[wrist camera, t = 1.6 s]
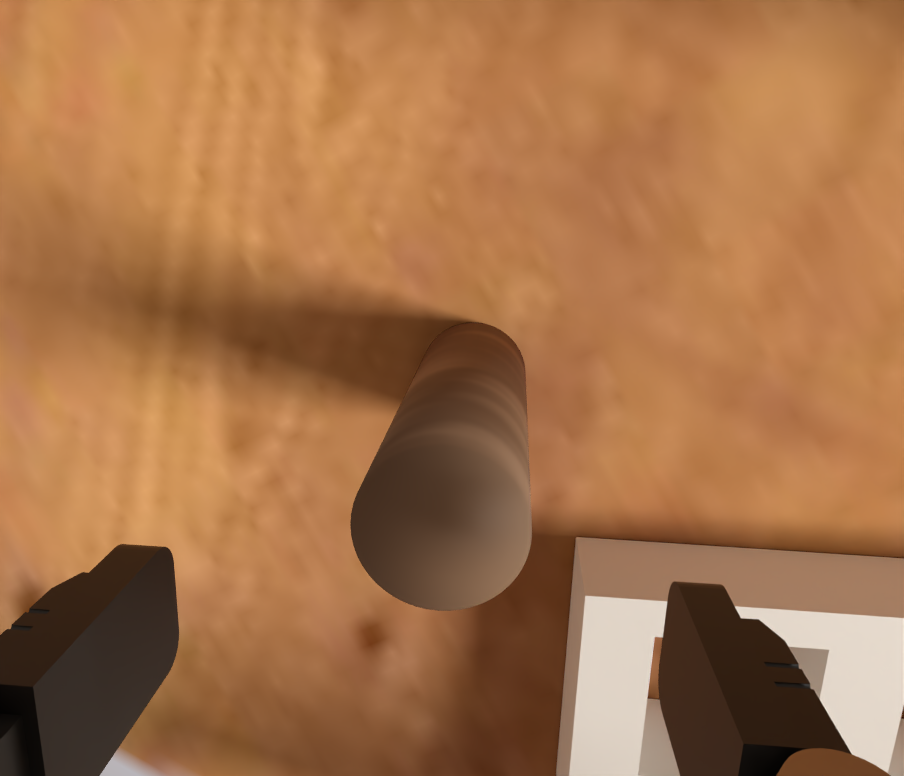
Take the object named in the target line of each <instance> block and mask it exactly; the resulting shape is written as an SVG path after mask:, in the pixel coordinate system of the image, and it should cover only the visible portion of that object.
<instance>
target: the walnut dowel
mask: <svg viewBox="0 0 904 776" xmlns="http://www.w3.org/2000/svg"><path fill="white" fill-rule="evenodd" d="M351 536H352V540H353V545H354V548H355V551H356V554H357V556H358V558H359V560H360V562H361V564H362V566H363V567H364V569H365V570H366V571H367V573H368V574H369V576H370V577H371V578H372V579H373V580H374V581H375V582H376V583H377V584H378V585H379V586H380V587H381V588H383V589H384V590H385V591H386V592H388V593H389V594H391V595H392V596H394V597H396V598H397V599H399V600H401V601H403V602H405V603H408V604H411V605H413V606H416V607H420V608H424V609H430V610H438V611H452V610H461V609H466V608H470V607H474V606H477V605H479V604H482V603H484V602H486V601H488V600H490V599H492V598H494V597H495V596H497V595H498V594H500V593H501V592H502V591H504V590H505V589H506V588H507V587H508V586H509V585H510V584H511V583H512V582H513V581H514V580H515V578H516V577H517V576H518V574H519V573H520V571H521V570H522V568H523V566H524V564H525V562H526V560H527V557H528V554H529V550H530V546H531V539H532V519H531V495H530V472H529V448H528V425H527V401H526V377H525V365H524V361H523V357H522V355H521V352H520V350H519V349H518V347H517V345H516V344H515V343H514V341H513V340H512V339H511V338H510V337H509V336H508V335H507V334H505V333H504V332H502V331H501V330H499V329H497V328H495V327H493V326H490V325H487V324H483V323H464V324H459V325H456V326H453V327H451V328H449V329H447V330H445V331H444V332H442V333H441V334H440V335H439V336H438V337H437V338H436V339H435V340H434V341H433V342H432V343H431V345H430V346H429V348H428V350H427V352H426V354H425V356H424V358H423V360H422V362H421V364H420V366H419V368H418V370H417V372H416V374H415V376H414V378H413V380H412V382H411V384H410V386H409V389H408V391H407V393H406V395H405V397H404V399H403V401H402V403H401V405H400V407H399V409H398V411H397V413H396V415H395V417H394V419H393V421H392V423H391V425H390V427H389V429H388V431H387V433H386V436H385V438H384V440H383V442H382V444H381V446H380V448H379V450H378V452H377V454H376V456H375V458H374V460H373V462H372V464H371V466H370V468H369V470H368V472H367V474H366V476H365V478H364V481H363V483H362V485H361V487H360V489H359V491H358V493H357V495H356V498H355V501H354V503H353V508H352V513H351Z"/></svg>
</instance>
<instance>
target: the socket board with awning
mask: <svg viewBox="0 0 904 776" xmlns="http://www.w3.org/2000/svg"><path fill="white" fill-rule="evenodd" d="M674 581H677V582H693V583H708V584H721V585H723V586H724V587H725V589H726V591H727V593H728V594H729V596H730V598H731V600H732V602H733V604H734V606H735V608H736V610H737V612H738V614H739V616H740V617H741V618H746V619H759V620H760V621H761V622H763V623H764V624H765V625H766V626H768V627H769V628H770V629H771V630H772V631H774V632H775V633H776V634H777V635H779V636H780V637H781V638H782V639H783V640H785V642H786V643H787V645H788V647H789V649H790V650H791V652H792V654H793V655H794V657H795V659H796V660H797V662H798V664H799V669H802V671H803V672H804V674H805V676H806V677H807V679H808V681H809V682H810V687H811V689H814V691H815V693H816V694H817V696H818V698H819V699H820V701H821V703H822V704H823V706H824V708H825V710H826V711H827V713H828V715H829V716H830V718H831V720H832V721H833V723H834V725H835V726H836V728H837V730H838V732H839V733H840V735H841V737H842V738H843V740H844V742H845V743H846V745H847V747H848V748H849V750H850V752H851V754H852V755H855V756H857V757H859V758H862V759H864V760H866V761H868V762H870V763H872V764H874V765H876V766H877V767H879V768H881V769H882V770H884V771H885V772H887V773H888V774H889V775H891V776H904V719H901V715H902V710H903V706H904V558H890V557H875V556H860V555H844V554H829V553H814V552H798V551H783V550H768V549H752V548H737V547H722V546H706V545H691V544H676V543H660V542H645V541H630V540H614V539H599V538H584V537H576V543H575V555H574V567H573V578H572V590H571V602H570V614H569V626H568V638H567V650H566V661H565V673H564V685H563V697H562V709H561V721H560V733H559V745H558V756H557V768H556V776H680V773H679V770H678V766H677V763H676V759H675V756H674V752H673V749H672V745H671V742H670V738H669V735H668V731H667V728H666V724H665V721H664V717H663V714H662V710H661V705H660V700H659V699H647V697H648V689H649V681H650V672H651V664H652V656H653V648H654V639H655V637H663V632H664V624H665V616H666V608H667V600H668V594H669V589H670V586H671V584H672V582H674Z"/></svg>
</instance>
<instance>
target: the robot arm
mask: <svg viewBox="0 0 904 776" xmlns="http://www.w3.org/2000/svg"><path fill="white" fill-rule="evenodd" d="M178 641H179V625H178V612H177V599H176V586H175V572H174V561H173V556H172V553H171V551H170V550H169V549H168V548H167V547H158V546H142V545H127V544H120V545H118V546H117V547H115V548H114V549H113V550H112V551H111V552H110V553H109V554H108V555H107V556H106V557H105V558H104V559H103V560H102V561H101V562H100V563H99V564H98V565H97V566H96V567H94V568H93V569H92V570H91V571H90V572H89V573H84V572H82V573H80V574H78V575H76V576H74V577H73V578H71V579H69V580H67V581H65V582H63V583H61V584H59V585H57V586H55V587H53V588H51V589H50V590H49V591H48V592H47V593H46V594H45V595H44V596H43V597H42V598H40V599H39V600H38V601H37V602H36V603H35V604H34V605H33V606H32V607H31V608H30V610H29V613H27V612H25V613H24V614H23V615H22V616H21V617H20V618H19V619H18V620H16V621H15V622H14V623H13V624H12V627H11V629H7V630H6V631H4V632H3V633H2V634H1V635H0V776H99V775H100V774H101V773H102V771H103V770H104V768H105V767H106V765H107V764H108V762H109V761H110V759H111V758H112V756H113V755H114V753H115V752H116V750H117V749H118V747H119V746H120V744H121V743H122V741H123V740H124V738H125V737H126V735H127V734H128V732H129V731H130V729H131V728H132V727H133V725H134V724H135V722H136V721H137V719H138V718H139V716H140V715H141V713H142V712H143V710H144V709H145V707H146V706H147V704H148V703H149V701H150V700H151V698H152V697H153V695H154V694H155V692H156V691H157V689H158V688H159V686H160V685H161V683H162V682H163V681H164V679H165V678H166V676H167V675H168V673H169V671H170V670H171V667H172V665H173V663H174V660H175V656H176V653H177V648H178ZM658 681H659V699H660V705H661V710H662V714H663V717H664V721H665V724H666V728H667V731H668V735H669V738H670V742H671V745H672V749H673V752H674V756H675V759H676V763H677V766H678V770H679V773H680V776H891V775H889V774H888V773H887V772H885V771H884V770H882V769H881V768H879V767H877V766H876V765H874V764H872V763H870V762H868V761H866V760H864V759H862V758H859V757H857V756H855V755H852V754H851V752H850V750H849V748H848V747H847V745H846V743H845V742H844V740H843V738H842V737H841V735H840V733H839V732H838V730H837V728H836V726H835V725H834V723H833V721H832V720H831V718H830V716H829V715H828V713H827V711H826V710H825V708H824V706H823V704H822V703H821V701H820V699H819V698H818V696H817V694H816V693H815V691H814V689H811V687H810V682H809V681H808V679H807V677H806V676H805V674H804V672H803V671H802V669H799V664H798V662H797V660H796V659H795V657H794V655H793V654H792V652H791V650H790V649H789V647H788V645H787V643H786V642H785V640H783V639H782V638H781V637H780V636H779V635H777V634H776V633H775V632H774V631H772V630H771V629H770V628H769V627H768V626H766V625H765V624H764V623H763V622H761V621H760V620H759V619H746V618H741V617H740V616H739V614H738V612H737V610H736V608H735V606H734V604H733V602H732V600H731V598H730V596H729V594H728V593H727V591H726V589H725V587H724V586H723V585H721V584H708V583H693V582H677V581H674V582H672V584H671V586H670V589H669V594H668V600H667V608H666V616H665V624H664V632H663V640H662V648H661V656H660V664H659V680H658Z"/></svg>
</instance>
